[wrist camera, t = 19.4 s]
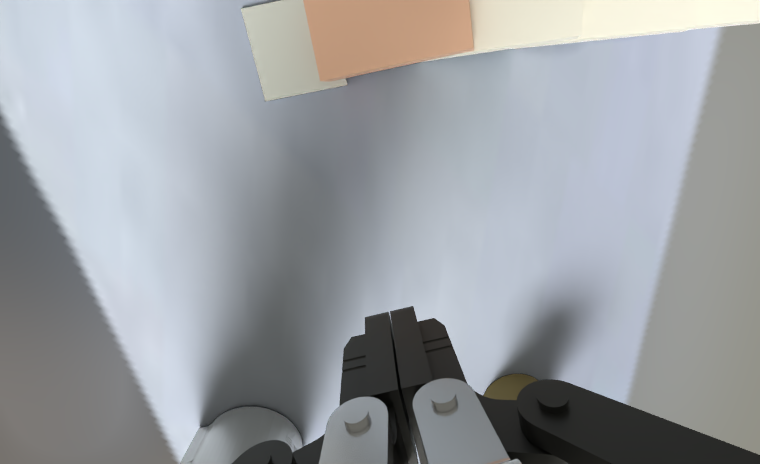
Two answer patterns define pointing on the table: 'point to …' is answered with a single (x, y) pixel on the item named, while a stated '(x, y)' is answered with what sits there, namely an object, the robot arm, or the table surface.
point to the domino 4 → (726, 13)
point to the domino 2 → (522, 23)
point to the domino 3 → (633, 19)
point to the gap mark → (284, 49)
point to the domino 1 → (385, 33)
